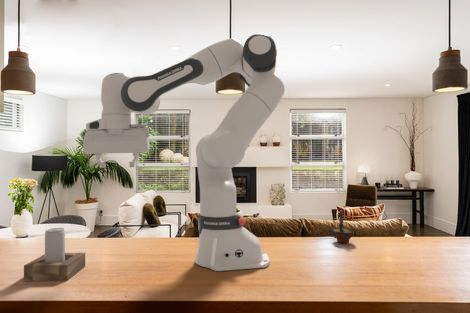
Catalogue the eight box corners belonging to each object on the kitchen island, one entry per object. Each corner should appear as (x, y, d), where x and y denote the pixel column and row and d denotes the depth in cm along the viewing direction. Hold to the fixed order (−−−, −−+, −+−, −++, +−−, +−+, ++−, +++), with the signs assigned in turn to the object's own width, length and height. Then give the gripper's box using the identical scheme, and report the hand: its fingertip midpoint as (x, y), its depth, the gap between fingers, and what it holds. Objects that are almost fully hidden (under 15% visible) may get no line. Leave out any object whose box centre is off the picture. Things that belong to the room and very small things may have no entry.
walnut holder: (85, 266, 97) (85, 252, 97) (67, 280, 86) (67, 265, 86) (46, 266, 96) (46, 253, 96) (23, 281, 85) (23, 265, 85)
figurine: (356, 246, 118) (356, 212, 118) (333, 245, 118) (333, 212, 118) (349, 239, 127) (348, 208, 127) (327, 239, 128) (327, 207, 128)
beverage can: (57, 277, 88) (57, 231, 88) (40, 276, 89) (40, 231, 89) (68, 270, 93) (68, 227, 93) (52, 270, 94) (52, 227, 94)
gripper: (151, 124, 111) (152, 166, 111) (88, 125, 110) (89, 167, 110) (147, 123, 105) (148, 167, 105) (80, 124, 104) (81, 168, 104)
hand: (117, 167), depth 107 cm, fingers open, 8 cm apart
